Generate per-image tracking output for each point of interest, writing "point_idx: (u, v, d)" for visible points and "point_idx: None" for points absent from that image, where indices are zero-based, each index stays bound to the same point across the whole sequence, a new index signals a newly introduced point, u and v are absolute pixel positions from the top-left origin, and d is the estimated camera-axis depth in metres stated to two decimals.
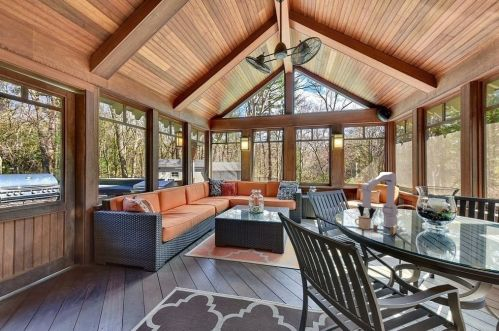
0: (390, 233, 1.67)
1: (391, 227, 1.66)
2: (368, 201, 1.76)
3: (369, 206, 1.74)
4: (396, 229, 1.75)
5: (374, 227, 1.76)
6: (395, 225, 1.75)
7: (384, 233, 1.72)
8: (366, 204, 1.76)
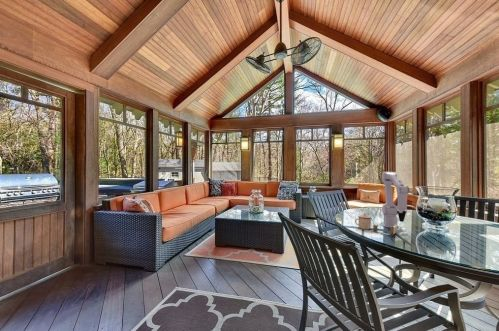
0: (390, 233, 1.67)
1: (391, 227, 1.66)
2: (399, 204, 1.69)
3: (398, 209, 1.69)
4: (396, 229, 1.75)
5: (374, 227, 1.76)
6: (395, 225, 1.75)
7: (384, 233, 1.72)
8: (398, 207, 1.71)
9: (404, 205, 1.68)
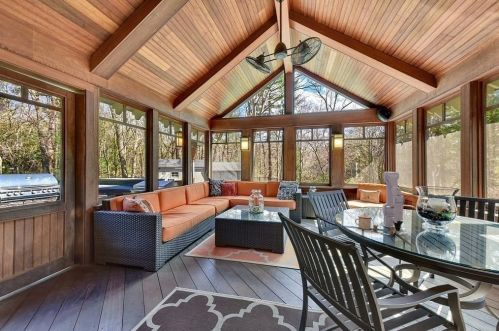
0: (390, 233, 1.67)
1: (391, 227, 1.66)
2: (395, 214, 1.71)
3: (393, 218, 1.71)
4: (395, 229, 1.75)
5: (374, 227, 1.76)
6: (394, 225, 1.75)
7: (384, 233, 1.72)
8: (393, 216, 1.73)
9: (399, 215, 1.69)
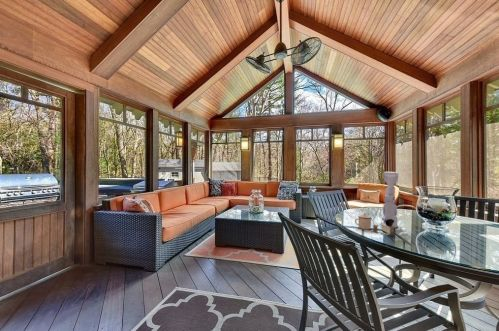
0: (390, 233, 1.67)
1: (391, 227, 1.66)
2: (385, 212, 1.75)
3: (383, 217, 1.75)
4: None
5: (374, 227, 1.76)
6: (383, 224, 1.78)
7: (384, 233, 1.72)
8: None
9: (389, 214, 1.73)
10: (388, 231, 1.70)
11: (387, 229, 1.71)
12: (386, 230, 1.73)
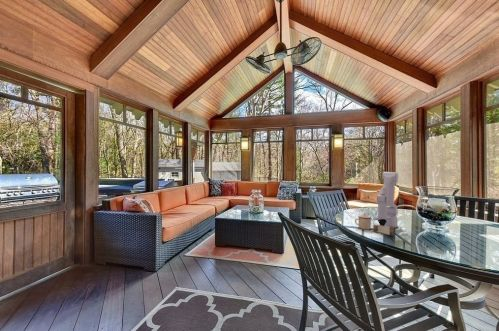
0: (390, 233, 1.67)
1: (391, 227, 1.66)
2: (378, 212, 1.76)
3: (376, 217, 1.76)
4: (378, 228, 1.77)
5: (374, 227, 1.76)
6: (377, 224, 1.77)
7: (384, 233, 1.72)
8: None
9: (381, 213, 1.73)
10: (387, 231, 1.70)
11: (385, 229, 1.70)
12: (383, 230, 1.72)
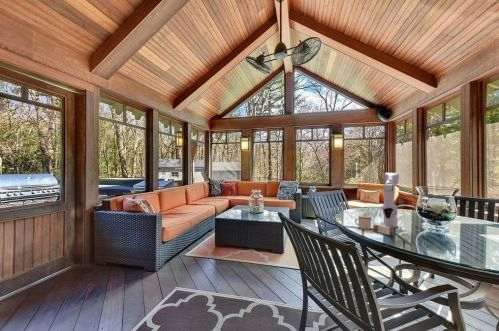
0: (390, 233, 1.67)
1: (391, 227, 1.66)
2: (384, 201, 1.77)
3: (382, 206, 1.77)
4: (378, 228, 1.77)
5: (374, 227, 1.76)
6: (377, 224, 1.77)
7: (384, 233, 1.72)
8: (384, 204, 1.79)
9: (388, 202, 1.75)
10: (387, 231, 1.70)
11: (385, 229, 1.70)
12: (383, 230, 1.72)
